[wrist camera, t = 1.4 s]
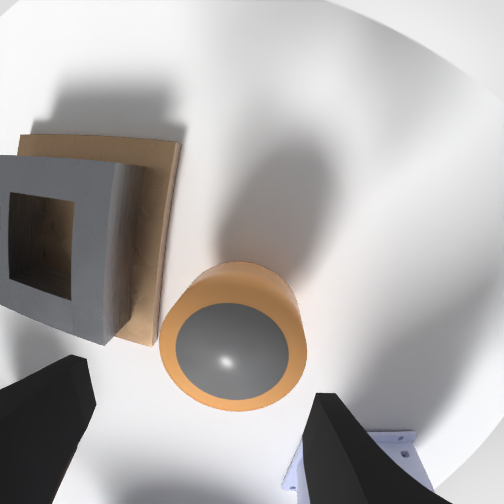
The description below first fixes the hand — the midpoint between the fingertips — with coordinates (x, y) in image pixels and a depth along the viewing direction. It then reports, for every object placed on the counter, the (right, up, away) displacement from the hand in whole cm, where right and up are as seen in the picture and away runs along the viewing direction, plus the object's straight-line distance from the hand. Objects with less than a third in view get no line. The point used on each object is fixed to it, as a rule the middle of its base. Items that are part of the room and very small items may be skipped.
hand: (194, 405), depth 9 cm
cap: (+1, +2, +9) cm, 10 cm away
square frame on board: (-9, +6, +9) cm, 14 cm away
